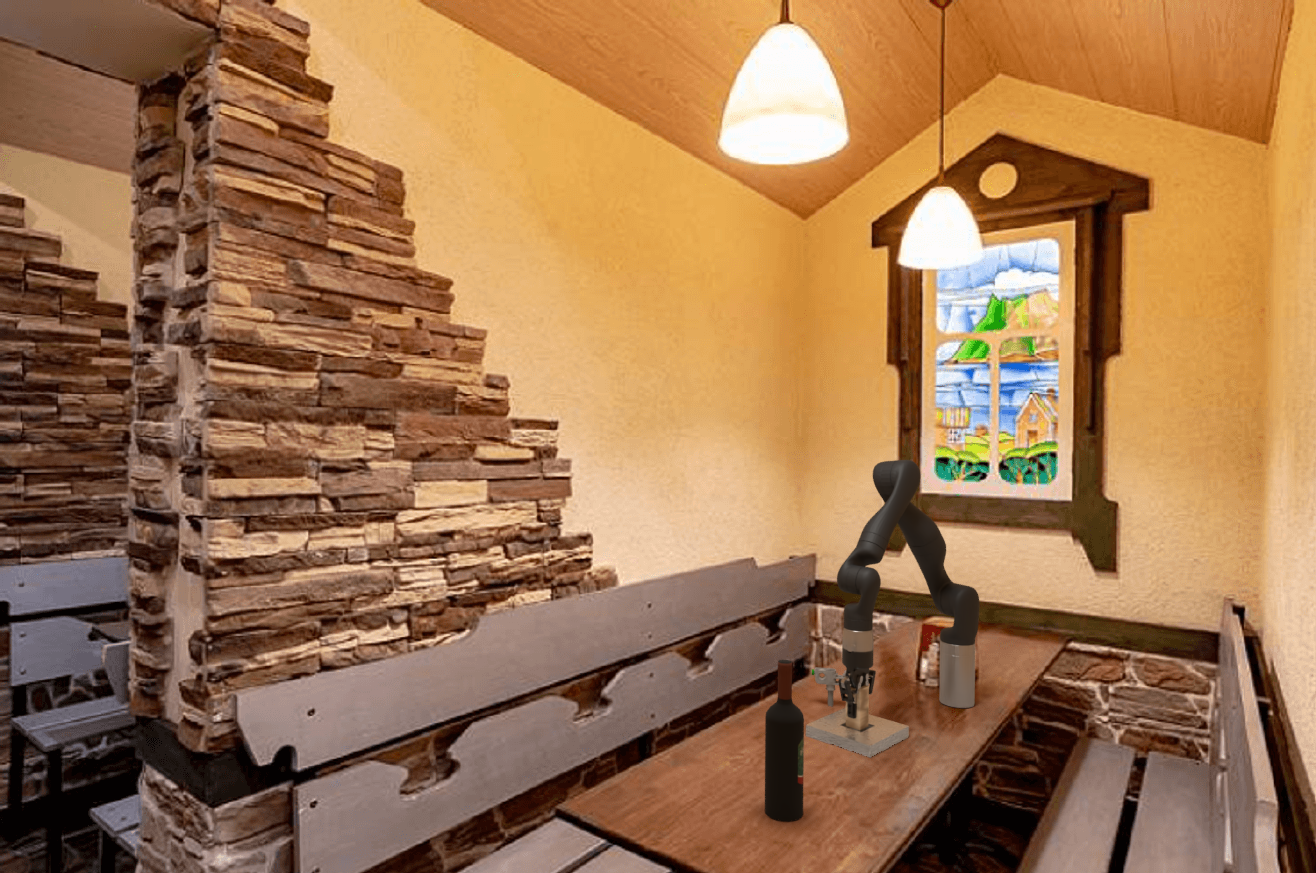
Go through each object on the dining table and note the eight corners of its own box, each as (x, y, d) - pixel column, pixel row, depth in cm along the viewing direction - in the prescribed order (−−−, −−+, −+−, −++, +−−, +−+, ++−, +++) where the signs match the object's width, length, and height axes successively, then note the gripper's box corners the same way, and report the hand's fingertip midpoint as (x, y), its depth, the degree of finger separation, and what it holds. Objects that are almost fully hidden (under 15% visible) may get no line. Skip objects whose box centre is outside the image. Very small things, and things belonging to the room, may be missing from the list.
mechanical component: (849, 709, 216) (849, 672, 215) (811, 706, 218) (811, 670, 218) (849, 705, 218) (849, 669, 218) (811, 702, 220) (811, 666, 220)
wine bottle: (760, 804, 160) (762, 656, 160) (797, 802, 161) (798, 655, 161) (769, 822, 153) (770, 667, 152) (807, 821, 153) (809, 667, 153)
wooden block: (854, 721, 199) (854, 682, 199) (868, 726, 196) (868, 686, 196) (845, 725, 196) (846, 685, 196) (859, 730, 193) (860, 689, 193)
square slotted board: (845, 717, 209) (845, 707, 209) (908, 737, 196) (908, 725, 196) (805, 735, 196) (805, 724, 196) (870, 757, 183) (870, 745, 183)
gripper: (859, 638, 204) (859, 704, 204) (828, 648, 194) (827, 718, 194) (886, 644, 198) (885, 712, 198) (855, 654, 188) (854, 726, 188)
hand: (856, 714), depth 196 cm, fingers closed on wooden block, 4 cm apart
